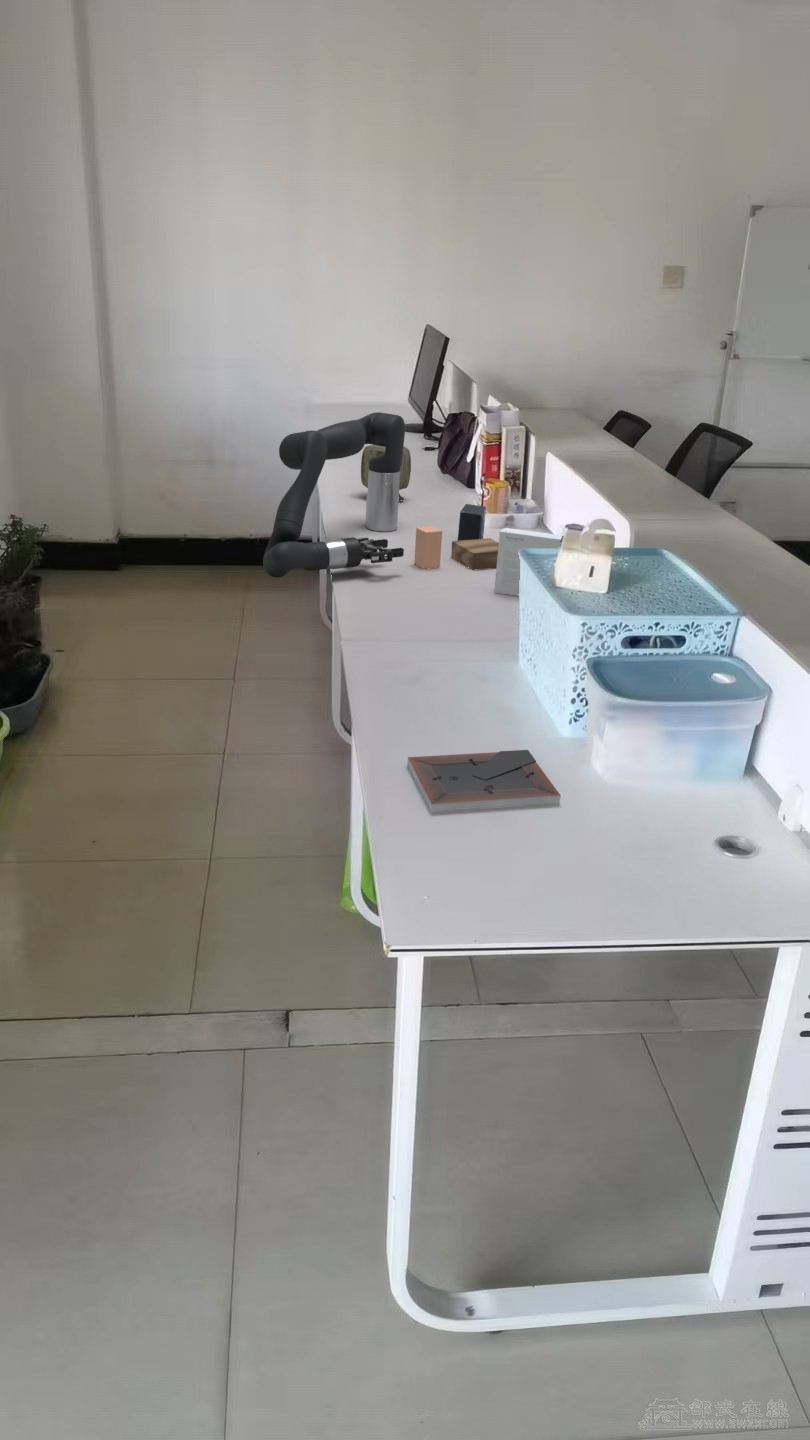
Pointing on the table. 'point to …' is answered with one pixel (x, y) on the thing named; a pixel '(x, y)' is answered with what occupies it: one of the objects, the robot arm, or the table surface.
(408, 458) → the tabletop clock
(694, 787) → the table surface
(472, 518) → the small box
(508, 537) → the skincare box
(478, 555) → the walnut block
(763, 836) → the table surface
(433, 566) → the terracotta pillar
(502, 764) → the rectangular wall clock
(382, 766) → the table surface
